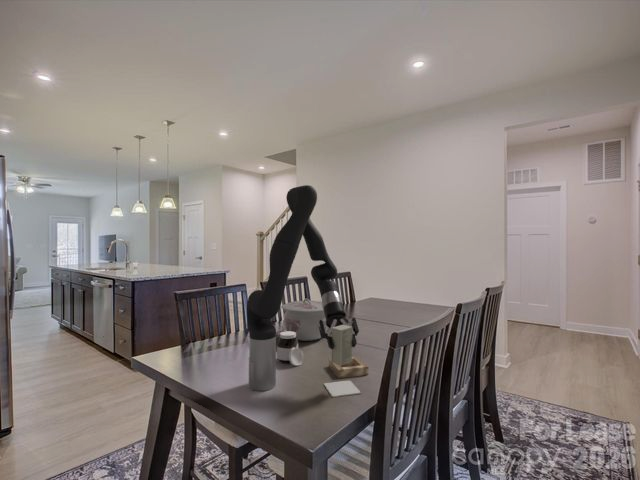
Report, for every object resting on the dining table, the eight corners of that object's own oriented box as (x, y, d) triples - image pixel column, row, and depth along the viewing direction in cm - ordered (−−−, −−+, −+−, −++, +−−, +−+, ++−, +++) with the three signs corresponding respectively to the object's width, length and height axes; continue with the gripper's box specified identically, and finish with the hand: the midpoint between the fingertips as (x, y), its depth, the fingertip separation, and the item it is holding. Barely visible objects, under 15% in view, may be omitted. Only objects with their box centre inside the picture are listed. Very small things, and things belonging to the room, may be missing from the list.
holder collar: (338, 377, 123) (338, 369, 123) (329, 366, 134) (329, 358, 134) (368, 374, 126) (368, 366, 126) (356, 363, 138) (356, 356, 138)
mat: (332, 397, 108) (332, 396, 108) (323, 384, 117) (323, 383, 117) (360, 393, 110) (360, 392, 110) (350, 381, 120) (350, 380, 120)
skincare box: (343, 358, 118) (343, 324, 118) (352, 361, 115) (353, 326, 114) (330, 362, 113) (331, 327, 113) (340, 366, 110) (340, 329, 110)
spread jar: (284, 355, 147) (284, 329, 147) (308, 358, 143) (308, 331, 143) (272, 365, 135) (272, 337, 135) (298, 368, 132) (298, 339, 132)
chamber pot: (323, 348, 157) (323, 304, 158) (271, 342, 166) (271, 301, 166) (339, 332, 184) (339, 295, 184) (293, 328, 193) (293, 293, 193)
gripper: (316, 301, 119) (325, 343, 108) (353, 299, 123) (366, 340, 112) (312, 313, 124) (321, 354, 113) (348, 310, 128) (360, 350, 117)
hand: (343, 347), depth 113 cm, fingers closed on skincare box, 7 cm apart
